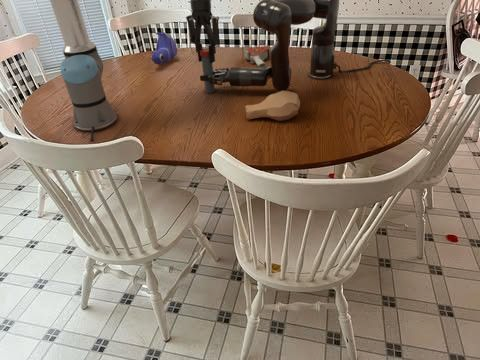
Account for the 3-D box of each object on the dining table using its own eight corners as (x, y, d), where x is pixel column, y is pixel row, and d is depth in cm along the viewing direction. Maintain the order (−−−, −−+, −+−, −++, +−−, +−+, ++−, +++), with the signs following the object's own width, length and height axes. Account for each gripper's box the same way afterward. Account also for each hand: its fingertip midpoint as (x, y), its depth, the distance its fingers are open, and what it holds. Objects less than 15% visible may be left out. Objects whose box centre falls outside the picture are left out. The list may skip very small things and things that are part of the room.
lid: (210, 56, 141) (210, 51, 140) (199, 57, 142) (198, 51, 141) (213, 53, 145) (212, 48, 144) (201, 53, 146) (201, 48, 144)
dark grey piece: (203, 90, 153) (199, 52, 143) (212, 88, 155) (208, 50, 145) (207, 93, 150) (203, 54, 140) (216, 91, 152) (212, 52, 142)
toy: (165, 64, 197) (145, 70, 175) (161, 31, 190) (139, 33, 168) (182, 63, 195) (163, 69, 172) (178, 30, 188) (158, 32, 166)
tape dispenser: (262, 73, 170) (281, 58, 183) (262, 62, 167) (281, 48, 179) (231, 66, 178) (251, 52, 190) (230, 56, 174) (251, 42, 187)
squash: (303, 121, 125) (302, 100, 119) (248, 131, 127) (244, 110, 121) (298, 104, 133) (297, 83, 126) (246, 113, 135) (242, 93, 128)
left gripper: (174, -1, 132) (183, 62, 146) (215, 0, 125) (221, 66, 139) (186, -5, 137) (193, 56, 151) (226, -3, 130) (230, 60, 144)
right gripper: (244, 62, 149) (205, 61, 152) (237, 74, 138) (195, 73, 141) (245, 79, 153) (207, 78, 157) (238, 92, 142) (198, 91, 146)
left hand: (206, 61), depth 145 cm, fingers closed on lid, 5 cm apart
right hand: (202, 76), depth 149 cm, fingers closed on dark grey piece, 4 cm apart
